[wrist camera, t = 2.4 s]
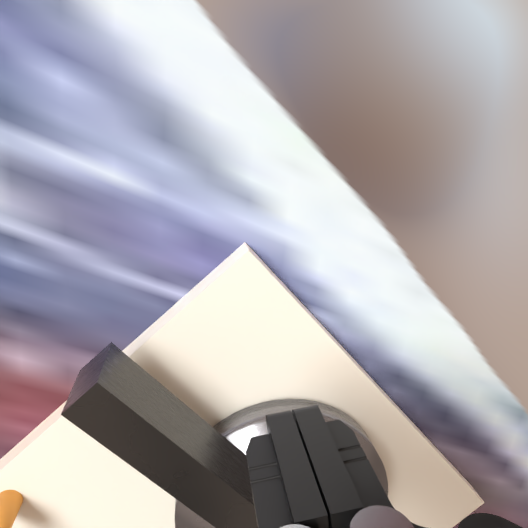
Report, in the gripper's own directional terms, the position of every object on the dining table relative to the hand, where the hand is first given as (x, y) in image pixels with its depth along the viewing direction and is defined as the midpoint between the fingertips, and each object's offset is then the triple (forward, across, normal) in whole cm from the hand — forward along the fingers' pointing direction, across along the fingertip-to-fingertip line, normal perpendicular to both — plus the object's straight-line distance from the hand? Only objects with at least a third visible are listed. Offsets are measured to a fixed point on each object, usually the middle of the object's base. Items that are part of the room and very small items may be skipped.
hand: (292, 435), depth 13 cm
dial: (+8, +2, +8) cm, 11 cm away
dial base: (+10, +1, +11) cm, 15 cm away
